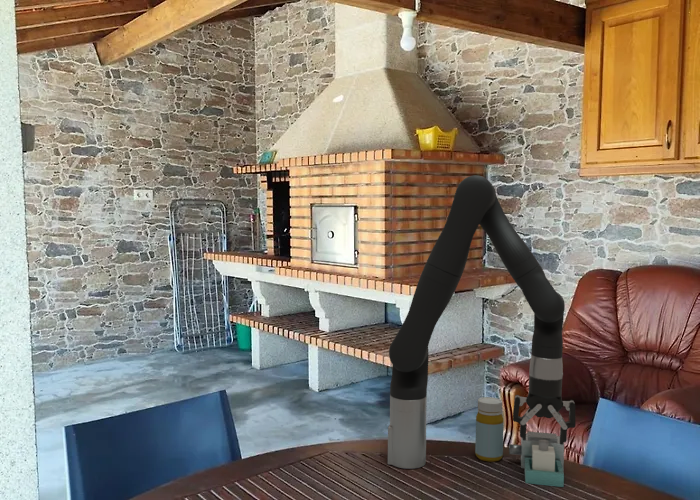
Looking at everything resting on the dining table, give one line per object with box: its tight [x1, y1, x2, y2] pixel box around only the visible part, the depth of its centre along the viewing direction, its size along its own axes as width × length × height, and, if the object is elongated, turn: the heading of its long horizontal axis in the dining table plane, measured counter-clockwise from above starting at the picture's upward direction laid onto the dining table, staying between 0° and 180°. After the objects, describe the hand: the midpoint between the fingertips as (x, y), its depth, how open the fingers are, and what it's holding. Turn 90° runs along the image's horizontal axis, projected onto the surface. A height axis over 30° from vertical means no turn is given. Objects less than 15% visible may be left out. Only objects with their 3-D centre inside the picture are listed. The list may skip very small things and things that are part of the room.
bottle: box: [474, 396, 505, 463], centre depth 162 cm, size 7×7×15 cm
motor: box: [508, 431, 565, 488], centre depth 153 cm, size 13×15×8 cm
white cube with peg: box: [532, 440, 555, 472], centre depth 149 cm, size 5×5×9 cm
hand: (542, 441), depth 149 cm, fingers open, 8 cm apart
